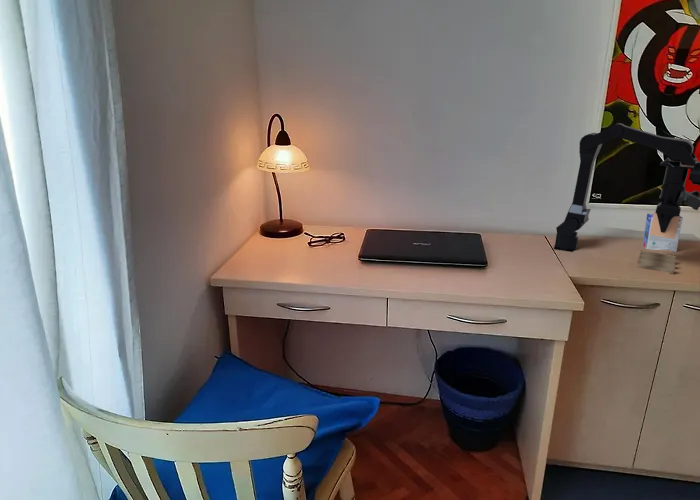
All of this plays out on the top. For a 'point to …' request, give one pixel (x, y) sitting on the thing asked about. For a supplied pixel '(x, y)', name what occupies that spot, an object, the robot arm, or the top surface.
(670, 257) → the slot rack
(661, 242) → the ink cartridge box
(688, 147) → the robot arm
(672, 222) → the terracotta block
